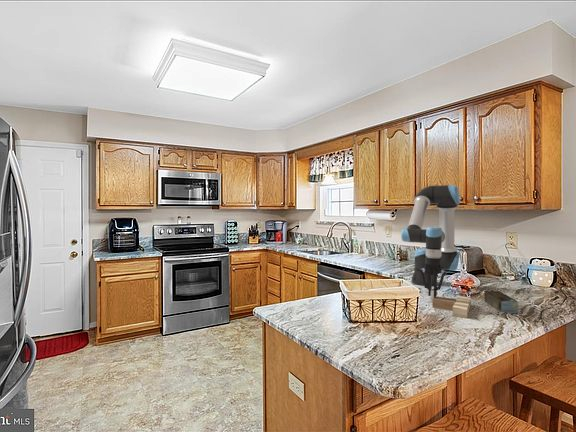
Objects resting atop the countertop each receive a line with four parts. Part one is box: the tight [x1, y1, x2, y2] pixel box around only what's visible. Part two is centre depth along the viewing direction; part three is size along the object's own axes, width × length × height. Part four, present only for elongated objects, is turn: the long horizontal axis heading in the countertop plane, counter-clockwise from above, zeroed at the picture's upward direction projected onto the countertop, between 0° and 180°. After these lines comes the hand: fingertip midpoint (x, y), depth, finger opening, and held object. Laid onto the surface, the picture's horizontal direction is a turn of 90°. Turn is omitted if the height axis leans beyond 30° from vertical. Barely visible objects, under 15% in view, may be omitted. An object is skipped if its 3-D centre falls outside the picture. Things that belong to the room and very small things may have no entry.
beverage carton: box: [483, 290, 519, 314], centre depth 172 cm, size 8×19×7 cm, turn 172°
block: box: [431, 295, 457, 312], centre depth 170 cm, size 7×10×4 cm
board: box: [451, 295, 472, 319], centre depth 166 cm, size 24×6×4 cm, turn 148°
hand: (432, 302), depth 174 cm, fingers closed
